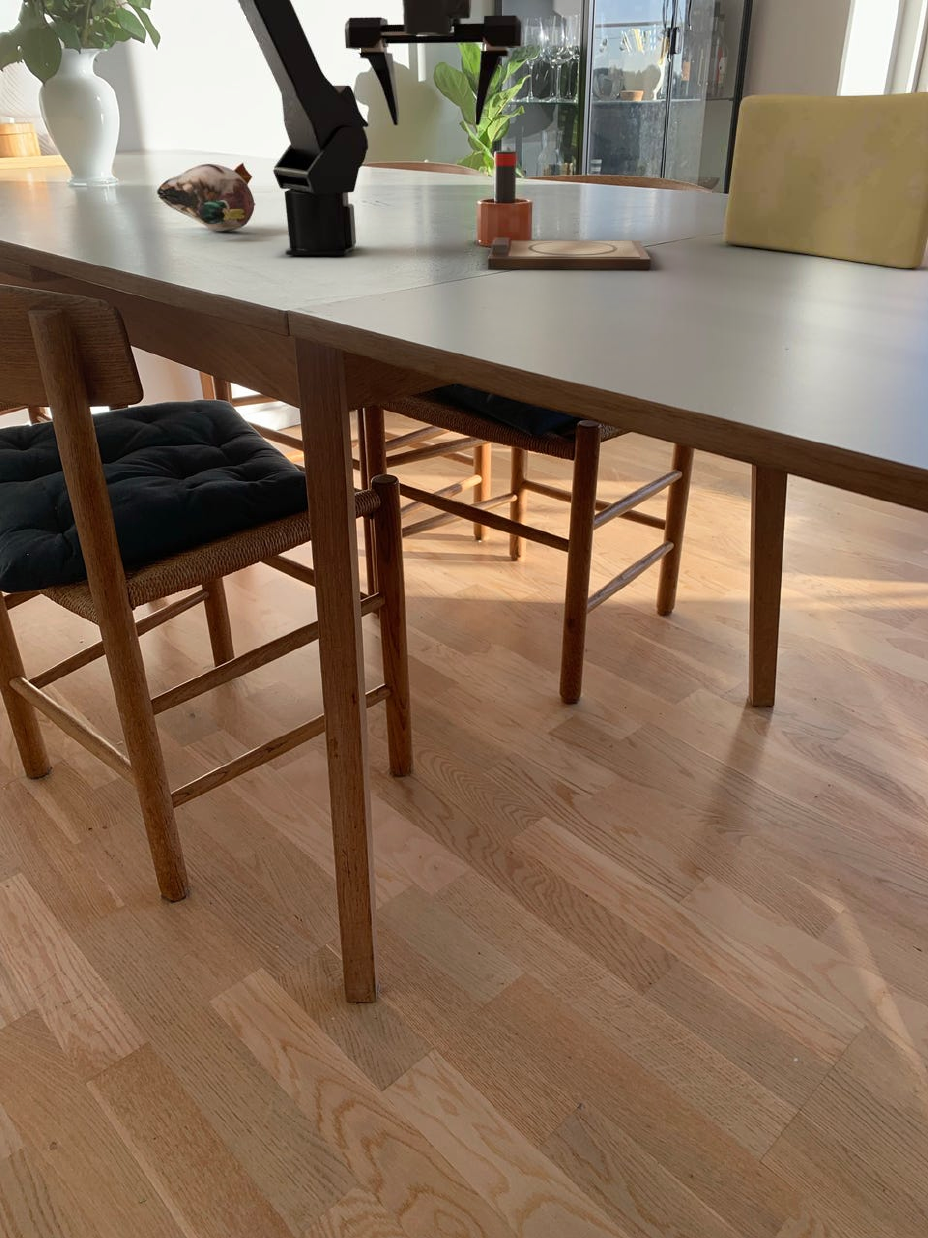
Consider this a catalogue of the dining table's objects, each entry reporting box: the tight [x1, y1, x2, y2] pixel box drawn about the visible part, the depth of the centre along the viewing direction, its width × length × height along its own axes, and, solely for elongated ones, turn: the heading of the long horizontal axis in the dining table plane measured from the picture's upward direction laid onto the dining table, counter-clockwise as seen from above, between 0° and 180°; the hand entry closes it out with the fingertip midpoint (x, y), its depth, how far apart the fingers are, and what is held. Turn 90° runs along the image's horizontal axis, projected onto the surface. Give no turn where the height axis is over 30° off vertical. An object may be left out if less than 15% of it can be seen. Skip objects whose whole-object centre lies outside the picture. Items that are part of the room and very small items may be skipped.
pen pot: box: [476, 197, 534, 248], centre depth 104 cm, size 6×6×4 cm
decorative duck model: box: [156, 162, 256, 232], centre depth 113 cm, size 15×8×15 cm
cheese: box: [722, 91, 928, 269], centre depth 93 cm, size 22×10×15 cm, turn 31°
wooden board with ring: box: [487, 237, 652, 271], centre depth 95 cm, size 16×12×2 cm
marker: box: [493, 150, 518, 203], centre depth 103 cm, size 2×2×9 cm
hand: (436, 124), depth 103 cm, fingers open, 9 cm apart
